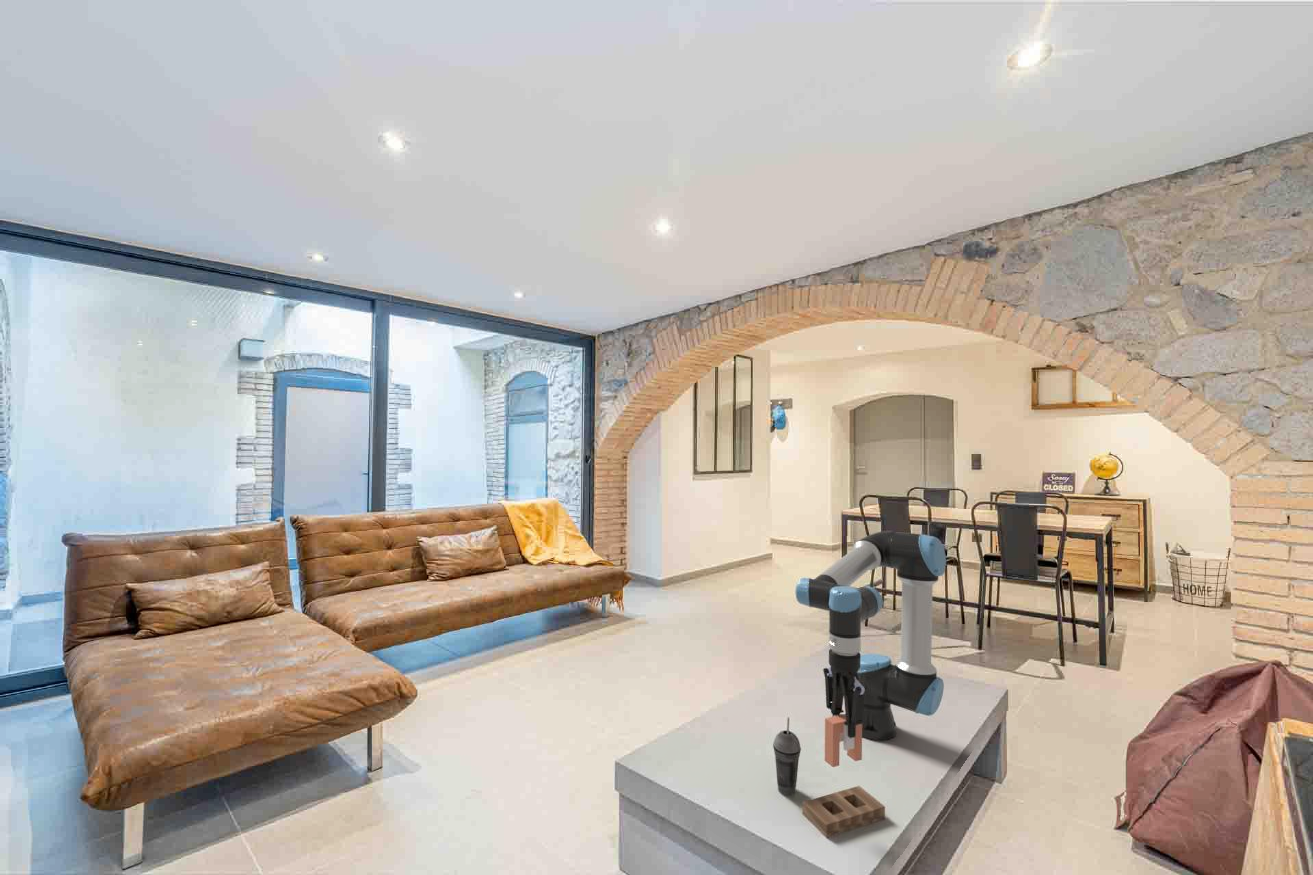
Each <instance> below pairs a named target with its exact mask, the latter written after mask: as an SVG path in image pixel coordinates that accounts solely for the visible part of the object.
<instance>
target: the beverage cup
mask: <svg viewBox="0 0 1313 875" xmlns="http://www.w3.org/2000/svg"><path fill="white" fill-rule="evenodd" d="M786 722H787V724H786V730H782V731H779V732H778V733H777V734H776V736H775V737H774V739H773V746H772V747H773V752H774V756H775V759H774V760H775V769H776V772H775V773H776V784H777V789H778V790H777V791H778V792H779V793H780V794H781V795H783V796H787V797H788V796H793V795H795V794H796V789H797V781H798V769H799V760H800V755H801V750H802V748H801V744H800V740H799V737H797V735H796V733H794V732H792V731H790V717H787V720H786Z"/></svg>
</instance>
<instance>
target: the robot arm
mask: <svg viewBox="0 0 1313 875" xmlns="http://www.w3.org/2000/svg"><path fill="white" fill-rule="evenodd" d="M946 559H947V558H946V551H945V548H944V545H943V543H942V542H941V540H940V539H939V538H937V537H936V536H932V535H927V534H924V533H913V532H912V533H911V532H903V531H902V532H900V531H894V530H883V531H882V530H881V531H878V532H874V533H872V534H869V535H866V536H865V537H862V538H861V539H859V540H857V541H856V542H855V543H854V544H853V545H852V547H851V549H850V551H849V552H848V553H846V554H845V555H844V556H842V557H841V558H840V559H838V560H837V561H836V562H835V563H833V564H832V565H831V566H829V567H828V568H827V569H825V570H824V571H822V572H821V573H820V574H819V575H818V576H816V577H815V578H811V577H808V578H807V577H802V578H799V579H798V581H797V583H796V586H795V598H796V601H797V602H798V603H799V604H800V605H802V606H806V607H809V608H814V609H819V610H824V611H828V614H829V617H828V618H829V619H828V620H829V623H828V626H829V627H828V637H829V638H828V647H829V649H828V664H829V667H824V668H823V669H822V672H823V675H824V682H825V704H826V708H827V709H828V710H830V713H831V715H832V716H831V717H834V716H839V715H843V714H842V713H844V712H845V713H844V714H846V722H844V732H841V733H840V743H841V742H843V743H842V744H843V746H842V747H843V750H844V751H846V752H847V750H850V749H854V737H855V736H856V725H859V724H862V738H863V739H864V738H865V739H868V740H876V741H886V740H891V739H893V738H894V737H895V736H896V735H897V724H896V721H895V716H894V714H893V711H892V708H891V705H893V706H896V707H898V708H901V709H904V710H908V711H910V712H914V713H915V714H920V715H923V716H928V717H931V716H934V715H935V713H937V711H938V709H939V706H940V705H941V702H942V699H943V696H944V695H943V694H944V689H945V688H944V687H945V684H944V680H943V678H941V677H940V676H937V668H936V667H935V666H934V665H933V663H932V638H933V637H932V633H933V631H932V630H933V629H932V628H933V586H934V585H935V584H937V582H938V581H939V577H942V576H943V575H944V574H945V572H946V566H947V560H946ZM879 567H880V568H881V567H882V568H883V567H884V568H890V569H894V570H896V576H897V578H898V579H899V580H900V581H901V628H900V629H901V632H900V633H901V634H900V636H901V637H900V657H899V659H897V660H896V661H895V665H894V664H892V663H893V662H892V660H891V658H890V657H889V656H887V655H884V654H880V653H865V654H861V653H860V652H862V651H861V650H862V646H861V645H862V642H861V640H862V636H861V635H862V634H861V631H862V630H861V629H862V628H861V627H862V626H861V625H862V622H864V621H865V620H868V619H870V618H873V617H875V616H876V615H877V614H879V612H881V610H882V608H883V604H884V600H883V596H882V595H881V593H880V592H879V591H878V590H877V589H876V588H874V587H872V586H867V585H866V586H861V587H859V588H858V587H855V586H854V587H853V586H852V585H853V584H854V583H855V582H857V581H858V580H859V579H860V578H861V577H862V576H864V575H865V573H867V572H868V571H872V570H875V569H877V568H879ZM843 703H844V706H843ZM843 707H844V710H843ZM851 718H852V719H851Z"/></svg>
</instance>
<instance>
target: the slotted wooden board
mask: <svg viewBox="0 0 1313 875" xmlns="http://www.w3.org/2000/svg"><path fill="white" fill-rule="evenodd" d="M802 815H803V816H804V817H805V818H806V819H807V820H808V821H809V822H810V823H811V824H812V825H813V826H814V827H815V828H816V829H817V830H818V831H819V832H820V833H821V834H822V835H823V836H824V837H825V838H829V837H832V836H837V835H838V834H842V833H844V832H848V831H850V830H854V829H858V828H859V827H863V826H867V825H870V824H872V823H876V822H878V821H882V820H884V819H886V806H885V805H884V804H882V803H881V802H880V801H879V800H877V799H876V798H875V797H874V796H873V795H871V794H870V793H869V792H868V791H866V789H863V787H861V786H860V785H857V786H854V787H850V788H847V789H844V790H839V791H837V792H833V793H830V794H826V795H823V796H822V795H821V796H819V797H816V798H812V799H809V800H806V801H802Z"/></svg>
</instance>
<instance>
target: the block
mask: <svg viewBox="0 0 1313 875" xmlns="http://www.w3.org/2000/svg"><path fill="white" fill-rule="evenodd" d="M824 719H825V720H824V762H825V763H827V764H828V765H829V766H831V767H832V768H836V767H839V766H840V749H841V748H840V744H841V742H840V733H841V732H844V722H846V714H845V713H844V714H843V715H839V716H834V717H832V716H829V717H826V718H824ZM851 719H852V718H851ZM846 755H847V756H848V757H849V758H850V759H852V760H853V761H855V762H857V761H862V760H863V756H862V755H863V737H862V724H859V725H856V736H855V737H854V749H850V750H846Z"/></svg>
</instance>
